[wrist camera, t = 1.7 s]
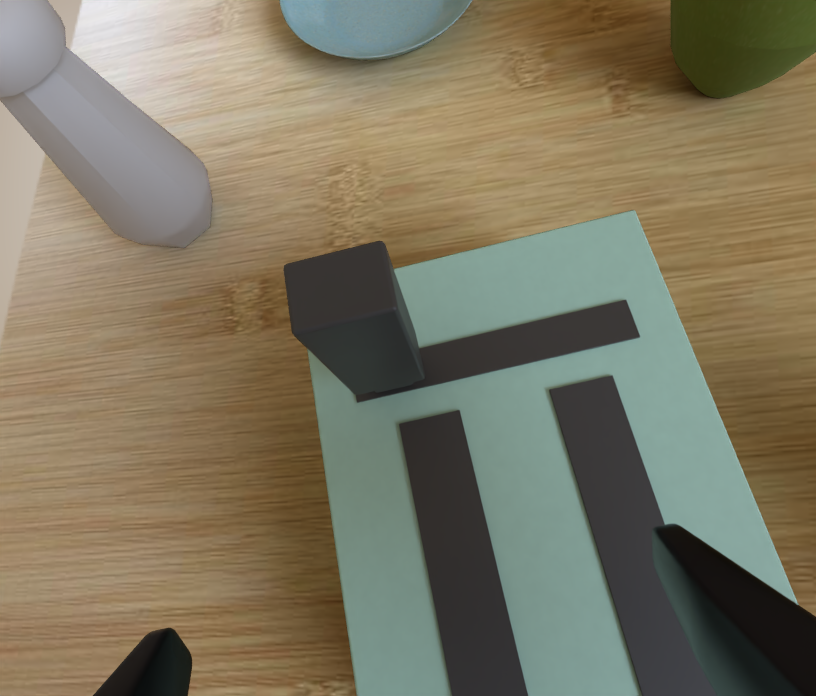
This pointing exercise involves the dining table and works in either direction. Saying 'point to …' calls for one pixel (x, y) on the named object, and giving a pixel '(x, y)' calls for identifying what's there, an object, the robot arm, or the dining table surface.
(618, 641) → the toaster
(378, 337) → the slide button
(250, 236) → the dining table surface
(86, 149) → the salt shaker
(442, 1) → the saucer
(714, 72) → the apple
